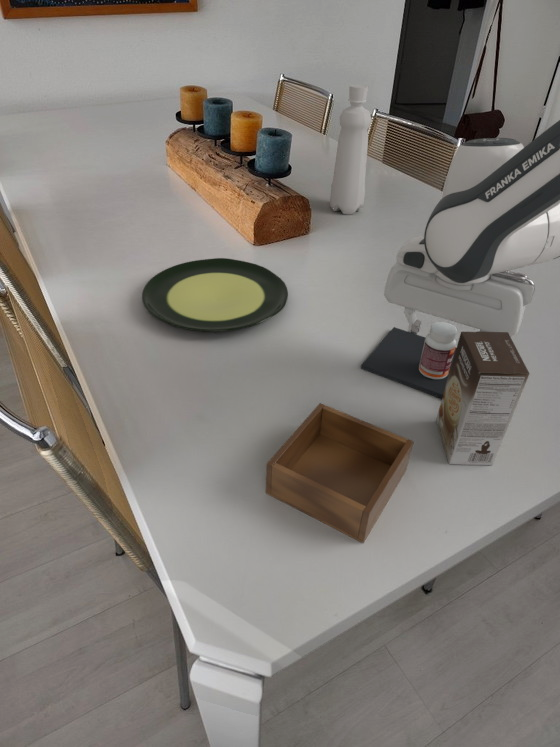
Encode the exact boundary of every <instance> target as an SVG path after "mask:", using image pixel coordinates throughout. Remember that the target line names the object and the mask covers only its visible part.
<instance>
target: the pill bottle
mask: <svg viewBox="0 0 560 747" xmlns="http://www.w3.org/2000/svg"><path fill="white" fill-rule="evenodd" d="M457 334H458V329H457V327H456V326H455V325H454V324H452V323H450V322H446V321H436V322H433V323H432V324H431V325H430V328H429V332H428V334H427V335H426V336H425V337H426V338H425V342H424V347H423V351H422V356H421V361H420V364H419V371H420V373H421V374H422V375H424V376H425V377H428V378H431V379H437V380H438V379H443V378H445V377H446V376H447V375H448V372H449V369H450V365H451V362H452V358H453V355H454V351H455V347H456V348H457V340H456V338H457Z"/></svg>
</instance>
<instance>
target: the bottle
mask: <svg viewBox="0 0 560 747" xmlns="http://www.w3.org/2000/svg"><path fill="white" fill-rule="evenodd" d="M348 89H349V90H348V92H349V96H348V98H349V99H347V101H348V102H349V104H350V106H348V107H346V108H344V109H343V110H342V111H341V114H340V115H339V126H340V130H339V131H340V132H339V135H338V138H337V139H338V140H337V147H336V155H335V161H334V170H333V177H332V182H331V185H330V197H329V198H330V199H329V206H330V207H331V209H332V211H333V212H338V211H339V212H340V211H341V213H342V214H343V215H354V214H355V213H356V212H360V211H361V210H362V208H364V203H365V195H366V174H367V161H368V160H367V159H368V149H369V130H368V129H369V128H370V127H371V124H372V120H373V119H372V116H371V112H370V110H368V109H366V108H365V107H364V105H365V104H366V102H368V101H367V96H368V92H369V86H368V85H366V84H360V83H355V84H349V88H348ZM333 208H334V209H333Z"/></svg>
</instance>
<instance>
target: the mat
mask: <svg viewBox="0 0 560 747" xmlns="http://www.w3.org/2000/svg"><path fill="white" fill-rule="evenodd" d="M425 338H426V336H423V335H420V334H413V333H410V332H408V330H404V329H401V328H398V327H395V326H394V327H392V329H391V330H390V331H389V332H388V333H387V335H385V337H383V339H382V340H381V341H380V342H379V343H378V345H377V346H376V347H375V349H374V350H372V352H371V353H369V355H368V357H367V358H366V359H365V360H364V361H363V362H362V364H361V365H360V369H362V370H364V371H366V372H370V373H372V374H375V375H377V376H381V377H383V378H386V379H389V380H391V381H393V382H396V383H399V384H402V385H404V386H407V387H410V388H412V389H415V390H417V391H421V392H423V393H426V394H429V395H430V396H433V397H437V398H439V399H442V398H443V394H444V390H445V387H446V383H447V380H448V376H449V373H450V369H451V366H452V362H453V359H454V355H455V352H456V348H457V346H456V347H455V351H454V355H453V358H452V362H451V365H450V369H449V372H448V375H447V376H446V377H445V378H443V379H438V380H437V379H431V378H428V377H425V376H424V375H422V374H421V373H420V371H419V364H420V361H421V356H422V351H423V347H424V342H425Z"/></svg>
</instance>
